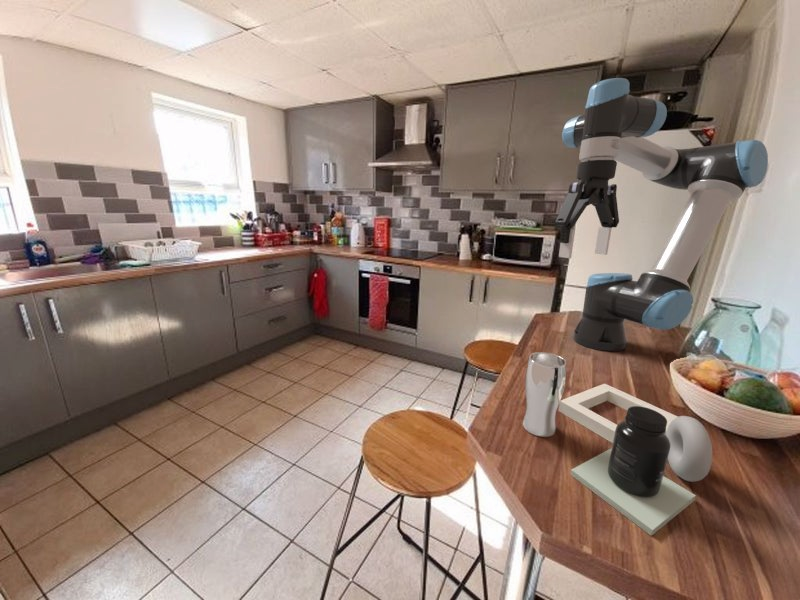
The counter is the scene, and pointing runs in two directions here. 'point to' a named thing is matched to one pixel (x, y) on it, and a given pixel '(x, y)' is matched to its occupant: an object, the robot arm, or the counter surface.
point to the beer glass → (543, 392)
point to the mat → (637, 509)
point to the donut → (689, 448)
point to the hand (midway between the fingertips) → (583, 255)
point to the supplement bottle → (639, 452)
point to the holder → (581, 402)
